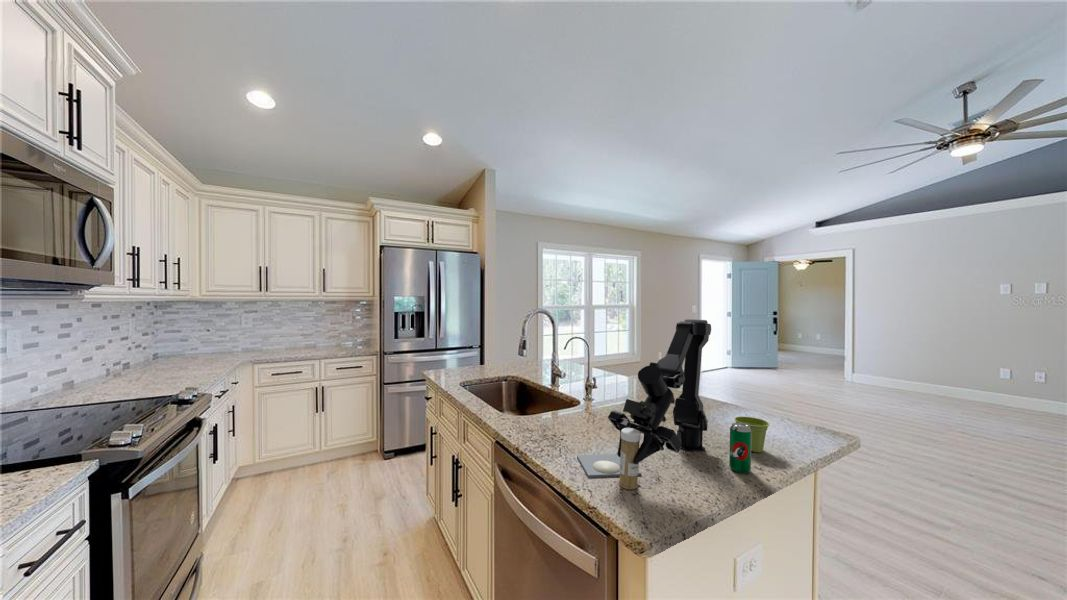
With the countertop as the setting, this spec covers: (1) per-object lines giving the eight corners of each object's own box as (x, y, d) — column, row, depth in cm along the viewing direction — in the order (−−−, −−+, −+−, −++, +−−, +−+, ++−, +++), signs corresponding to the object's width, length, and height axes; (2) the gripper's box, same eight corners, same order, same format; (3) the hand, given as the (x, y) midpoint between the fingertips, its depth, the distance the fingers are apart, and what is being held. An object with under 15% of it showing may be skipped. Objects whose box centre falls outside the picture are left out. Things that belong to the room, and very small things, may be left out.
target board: (624, 455, 107) (624, 452, 107) (641, 475, 95) (641, 472, 95) (577, 457, 105) (577, 454, 105) (588, 477, 93) (588, 474, 93)
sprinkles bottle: (636, 492, 87) (639, 435, 86) (617, 487, 88) (619, 432, 88) (638, 482, 91) (641, 429, 90) (620, 478, 93) (622, 425, 92)
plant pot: (726, 445, 116) (727, 417, 116) (747, 441, 120) (747, 414, 120) (755, 457, 108) (755, 427, 108) (776, 452, 111) (776, 423, 111)
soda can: (755, 473, 97) (756, 428, 97) (738, 474, 96) (738, 429, 96) (741, 465, 102) (742, 421, 102) (724, 466, 101) (725, 422, 101)
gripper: (613, 380, 99) (582, 429, 93) (676, 395, 84) (644, 455, 78) (631, 405, 104) (603, 453, 97) (694, 423, 89) (665, 482, 82)
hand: (626, 459), depth 89 cm, fingers closed on sprinkles bottle, 4 cm apart
